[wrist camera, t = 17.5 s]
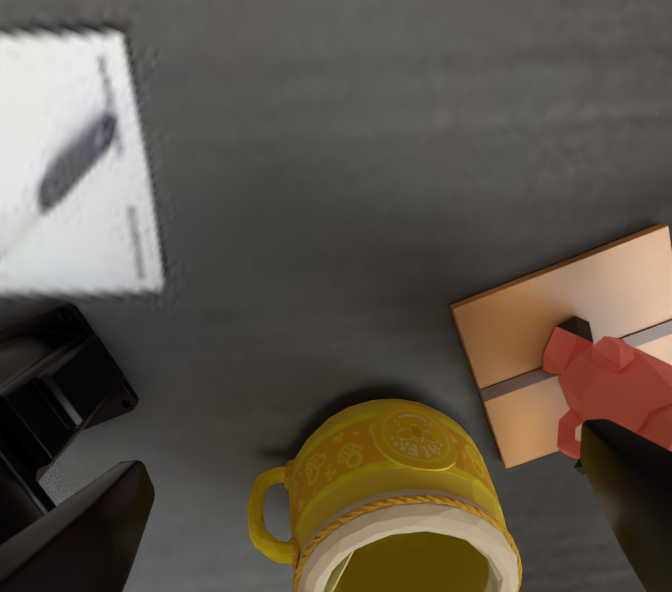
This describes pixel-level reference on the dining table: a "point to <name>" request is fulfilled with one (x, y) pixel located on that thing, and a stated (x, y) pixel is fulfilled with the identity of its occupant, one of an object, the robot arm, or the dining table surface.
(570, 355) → the cat figurine
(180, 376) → the dining table surface
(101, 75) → the dining table surface
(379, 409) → the mug
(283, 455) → the dining table surface
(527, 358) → the cardboard box
